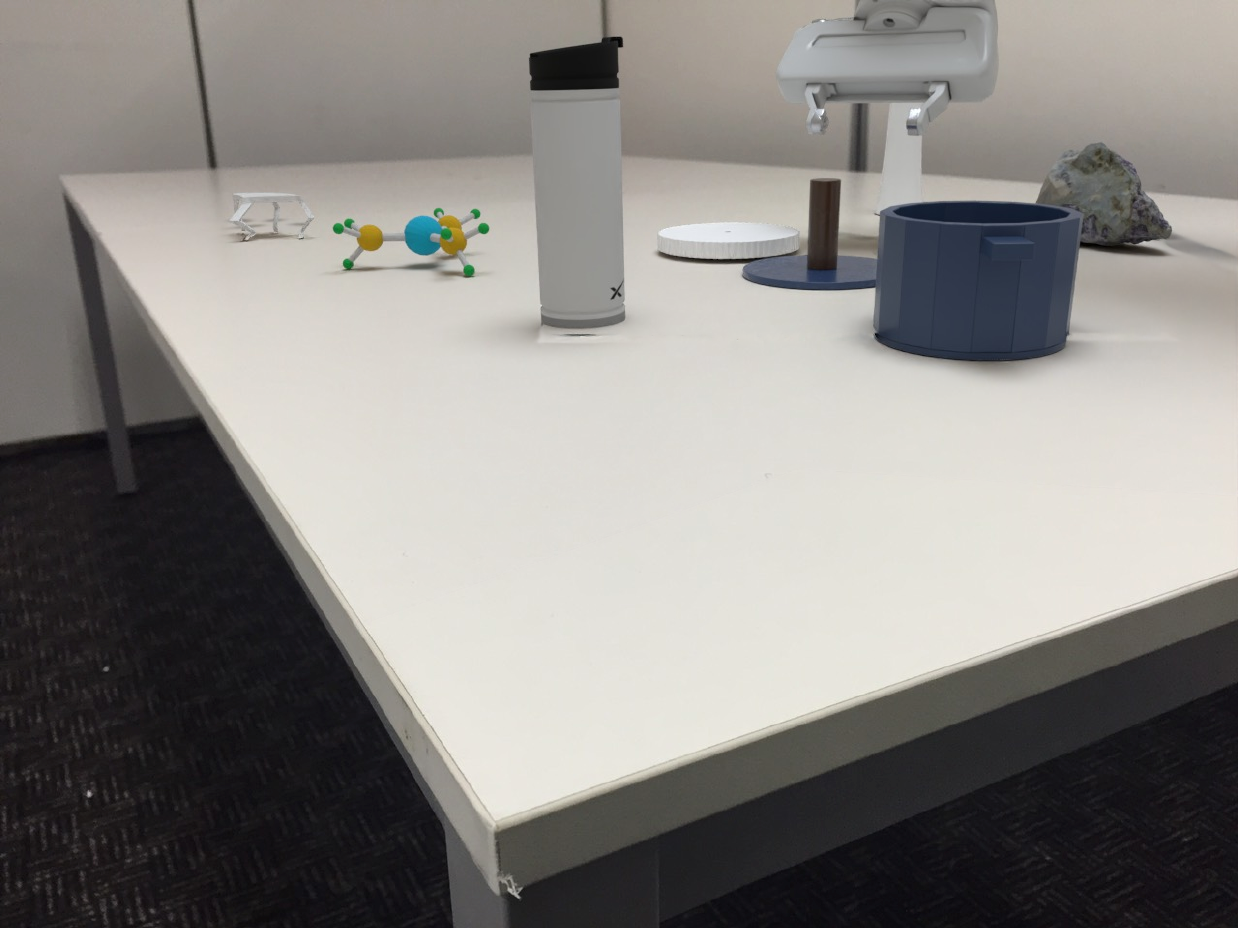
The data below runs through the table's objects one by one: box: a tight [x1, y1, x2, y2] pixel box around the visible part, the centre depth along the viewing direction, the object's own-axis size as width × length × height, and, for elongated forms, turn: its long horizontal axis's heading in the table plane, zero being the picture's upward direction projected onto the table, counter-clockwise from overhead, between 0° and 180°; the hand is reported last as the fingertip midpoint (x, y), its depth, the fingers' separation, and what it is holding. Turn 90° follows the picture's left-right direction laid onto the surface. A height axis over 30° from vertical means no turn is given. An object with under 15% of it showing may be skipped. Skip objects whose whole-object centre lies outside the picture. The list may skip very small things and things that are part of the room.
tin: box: [872, 200, 1084, 361], centre depth 72 cm, size 13×18×8 cm
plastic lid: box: [656, 221, 800, 260], centre depth 107 cm, size 14×14×2 cm
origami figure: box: [229, 192, 315, 239], centre depth 127 cm, size 12×8×5 cm
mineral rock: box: [1035, 141, 1173, 247], centre depth 107 cm, size 13×11×10 cm
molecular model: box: [332, 207, 490, 277], centre depth 105 cm, size 16×5×15 cm
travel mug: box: [528, 36, 626, 336], centre depth 76 cm, size 6×7×20 cm
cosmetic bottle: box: [874, 103, 924, 216], centre depth 131 cm, size 6×6×22 cm
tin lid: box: [742, 177, 877, 291], centre depth 93 cm, size 14×14×9 cm
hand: (863, 130), depth 97 cm, fingers open, 8 cm apart
